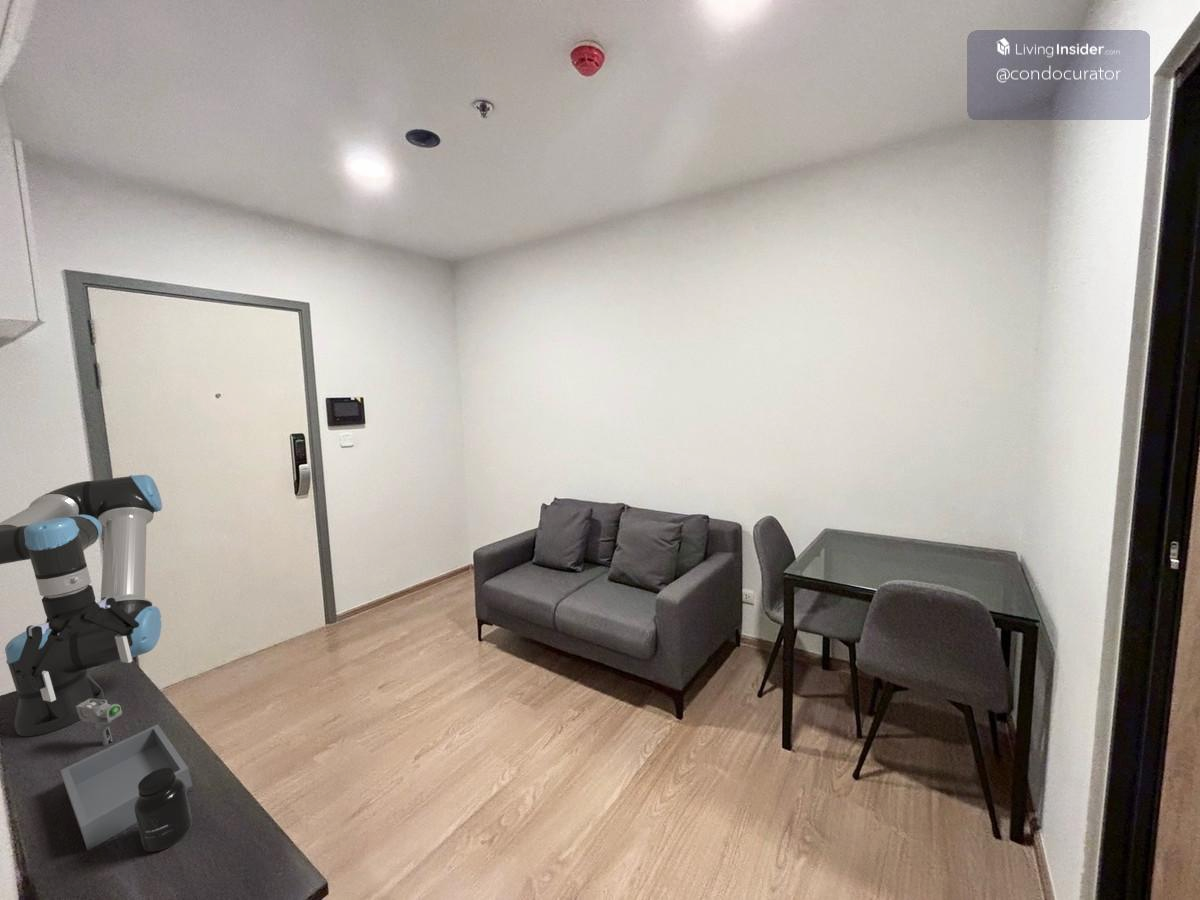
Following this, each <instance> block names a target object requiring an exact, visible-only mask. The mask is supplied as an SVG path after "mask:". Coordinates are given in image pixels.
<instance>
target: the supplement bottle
mask: <svg viewBox="0 0 1200 900" xmlns="http://www.w3.org/2000/svg"><path fill="white" fill-rule="evenodd" d="M138 790H139V797H138V799H137V801H136V803H135V806H134V810H135V815H136V819H137V823H136V824H137V826H138V830H139V831H138V832H139V835H140V839H141V844H142V847H143V849H144V850H145V851H147V852H151V853H153V852H154V853H155V852H160V851H164V850H166V849H168V848H170V847H171V846H173V845H175V844H176V843H178V842H179V841H181V840H183V838H184V837H185V836H186V835H187V834H188V832H189V831H190V829H192V825H193V817H192V812H191V808H190V802H189V798H188V793H187V792H186V788H185V784H184V782H183V781H182V780H180V779H176V776H175V773H174V770H173V768H169V767H168V768H167V767H166V768H161V769H158V770H156V771H153V772H152V773H150V774H148V775H147V776H145V777H144V778H143V779H142V780H141V781H140V783H139V785H138Z"/></svg>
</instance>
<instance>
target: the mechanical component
mask: <svg viewBox="0 0 1200 900" xmlns="http://www.w3.org/2000/svg"><path fill="white" fill-rule="evenodd" d="M95 702H97V703H99V704H97V703H95ZM76 709H77V713H78V715H79V718H80V721H82V722H84V723H90V724H91V723H92V724H94V725H95V726H94V729H95V730H98V731H99V735H100V738H101V741H102V745H103V746H108V745H109V742H113V737H112V733H111V729H110V724H111V723H112V722H113V721H114V720H116V719H117V718H119V717H121V716H122V715H123V711H122V707H121V705H120V704H118V703H112V704H110V703H108V699H105V700H100V699H91V698H90V699H88V700H86V701H84V702H81V703H79V704H78V705H77V706H76Z"/></svg>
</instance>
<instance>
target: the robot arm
mask: <svg viewBox="0 0 1200 900" xmlns="http://www.w3.org/2000/svg"><path fill="white" fill-rule="evenodd" d="M162 502H163V501H162V498H161V495H160V491H159V488H158V486H157V484H156V482H155V480H154V479H153V478H152V477H151V476H150V475H147V474H137V475H131V474H130V475H128V476H122V477H114V478H113V477H111V478H104V479H96V480H85V481H80V482H75V483H71V484H67V485H65V486H62V487H59V488H57V489H54V490H52V491H50V492H48V493H44V494H42V495H41V496H38V497H37V498H35V499H34V500H33V501H32V502H30V504H29V506H28V508H25V509H24V510H22V511H20V512H18V513H16V514H14V515H12V516H10V517H9V518H6V519H4V520H3V521H1V522H0V565H6V564H10V563H15V562H16V563H17V562H22V561H27V560H30V563H31V566H32V569H33V572H34V577H35V580H36V584H37V585H36V586H37V589H38V593H39V595H40V596H41V597H42V598H41V604H42V606H43V610H44V614H45V616H46V620H45V622H43V623H40V624H36V625H28V626H26V630H25V631H23V632H21V633H20V634H18V635H17V636H15V637H14V638H12V639H10V640H9V641H8V643H6V645H5V648H4V651H5V652H4V653H5V655H6V663H5V664H7V666H8V669H9V672H10V675H11V679H12V681H13V685H14V687H15V690H16V694H17V697H18V702H17V708H16V712H15V718H14V729H15V731H16V734H17V735H19V736H20V737H35V736H39V735H44V734H48V733H51V732H53V731H56V730H60V729H63V728H65V727H68V726H69V725H71V724H74V723H76V722H78V721H81V719H80V718H79V715H78V713H77V709H76V706H77V705H78V704H79V703H81V702H84V701H86V700H88V699H90V698H91V699H100V700H106V697H105V693H104V690H103V688H102V687H101V686H100V685H99V684H98V683H97V682H96V681H95V680H94V678H92V676H91V675H89V673H88V669H92V668H96V667H101V666H104V665H108V664H112V663H115V662H121V663H127V664H130V663H132V662H133V658H135V657H136V656H141V655H144V654H147V653H149V652H151V651H152V650H153V649H155V647H156V645H157V644H158V642H159V639H160V637H161V636H160V635H161V631H162V620H161V618H162V615H161V611H160V609H159V607H157V606H154V605H153V602H152V601H151V600H150V599H147V598H146V565H147V564H146V563H147V562H146V561H147V559H146V557H147V525H148V524H149V523H151V522H152V521H153V520H154V513H158V512H161V511H162V508H163V503H162ZM103 526H104V540H103V554H102V555H103V556H102V569H101V571H102V572H101V574H102V575H101V587H100V588H101V589H100V601H98V602H96V596H95V592H94V588H93V585H90V584H91V582H92V580H91V576H90V572H89V569H88V565H87V561H86V556H85V552H84V551H85V550H86V549H88V548H89V547H91V546H92V545H94V544H95V543H96V542H97V541H98V539H99V538H100V537H101V535H102V534H103V533H102V532H103ZM95 703H97V702H95ZM97 704H99V703H97Z"/></svg>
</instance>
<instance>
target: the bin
mask: <svg viewBox="0 0 1200 900" xmlns="http://www.w3.org/2000/svg"><path fill="white" fill-rule="evenodd" d="M166 767H167V768H168V767H169V768H173V770H174V773H175V776H176V779H180V780H182V781H183V782H184V784H185V788H186V792H187V791H189V790H191V789H192V788H193V789H194V785H193V782H192V778H191V773H190V769H189V767H188V766H187V764H186V763H185V761H184V760H183V758H182V757H181V755H180V754H179V752H178V750H176V748H175V747H174V745H173V744H172V742H171V741H170V739H169V738H168V737H167V735H166V734H165V732H164V731H163V730H162V728H161V726H160V725H159V724H158V723H157V724H155V725H153V726H150V727H149V728H147V729H145V730H142V731H140V732H138V733H136V734H134V735H131V736H130V737H128V738H125V739H123V740H121V741H119V742H117V743H114V744H113V745H110V746H108V747H107V748H104V749H102V750H100V751H98V752H95V753H94V754H91V755H89V756H88V757H85V758H83V759H80V760H79V761H78V762H74V763H73V764H70V765H69V766H66V767H65V768H61V770H60V774H61V775H62V780H63V783H64V786H65V790H66V793H67V796H68V800H69V802H70V804H71V807H72V810H73V813H74V816H75V820H76V821H77V825H78V828H79V830H80V833H81V836H82V838H83V842H84V845H85V847H86V850H87V851H88V852H89V851H90V850H92V849H93V848H96V847H97V846H99V845H100V844H102V843H104V842H106V841H108V840H109V839H111V838H114V837H115V836H116V835H118V834H119V833H121V832H123V831H125V830H126V829H128V828H130V827H132V826H134V825H135V824H138V823H137V819H136V815H135V810H134V806H135V803H136V801H137V799H138V797H139V790H138V785H139V783H140V781H141V780H142V779H143V778H144V777H145V776H147V775H148V774H150V773H152V772H153V771H156V770H158V769H161V768H166Z"/></svg>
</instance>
